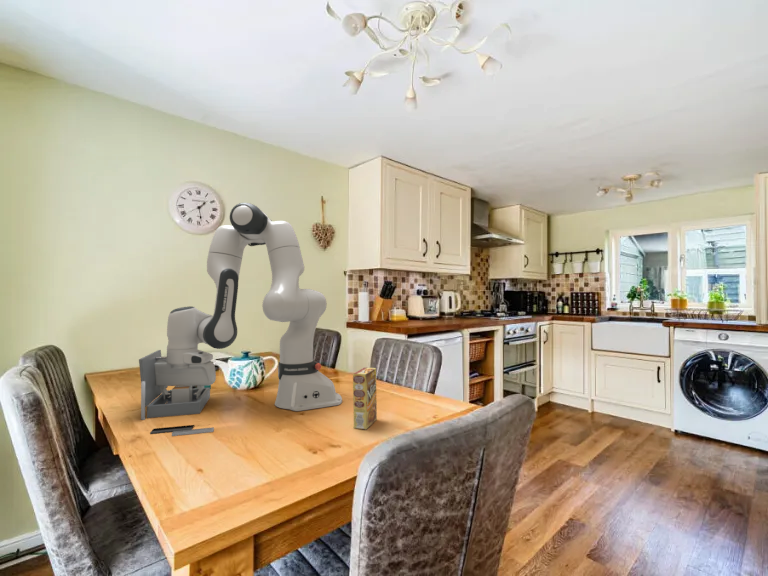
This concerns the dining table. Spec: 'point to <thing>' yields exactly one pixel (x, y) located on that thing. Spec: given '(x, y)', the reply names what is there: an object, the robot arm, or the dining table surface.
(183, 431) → the rod
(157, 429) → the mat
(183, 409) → the case
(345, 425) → the dining table surface
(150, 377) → the lid
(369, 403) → the candy box
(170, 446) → the dining table surface
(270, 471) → the dining table surface
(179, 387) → the block
